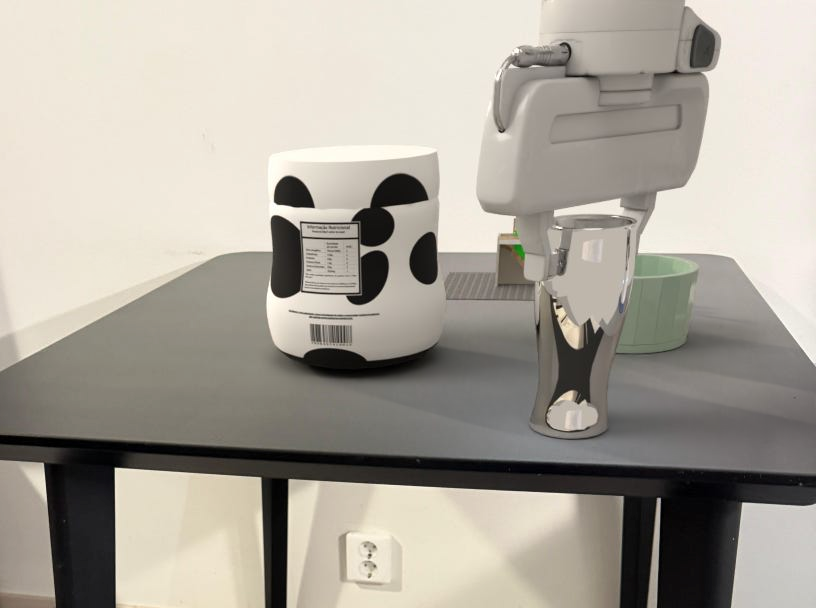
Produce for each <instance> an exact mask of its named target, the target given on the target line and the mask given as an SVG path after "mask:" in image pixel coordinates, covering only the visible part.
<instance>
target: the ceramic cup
mask: <svg viewBox="0 0 816 608" xmlns="http://www.w3.org/2000/svg"><path fill="white" fill-rule="evenodd" d="M699 271H700V268H699V264H698V263H696V262H695V261H692V260H691V259H687V258H683V257H679V256H672V255H665V254H657V253H640V252H638V255H637V257H636V258H635V267H634V277H633V285H632V291H631V298H630V303H629V307H628V311H627V315H626V319H625V323H624V326H623V330H622V333H621V336H620V340H619V343H618V346H617V349H616V353H615V354H629V355H630V354H637V355H638V354H653V353H662V352H668V351H670V350H675V349H677V348H679V347H682V346H683V345H684V344H685V343H686V342H687V338H688V334H689V330H690V324H691V319H692V311H693V305H694V300H695V295H696V289H697V288H696V287H697V284H698V283H697V282H698V276H699Z"/></svg>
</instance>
